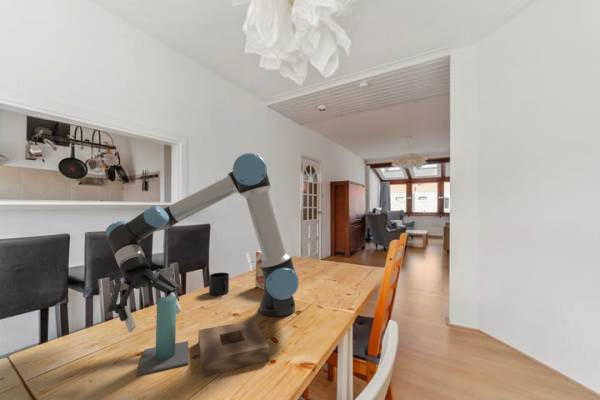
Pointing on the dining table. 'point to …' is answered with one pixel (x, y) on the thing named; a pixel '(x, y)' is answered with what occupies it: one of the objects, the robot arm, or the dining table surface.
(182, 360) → the mat
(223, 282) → the mug
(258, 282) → the coffeecake box
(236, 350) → the pocket block
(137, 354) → the dining table surface
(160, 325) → the peg
